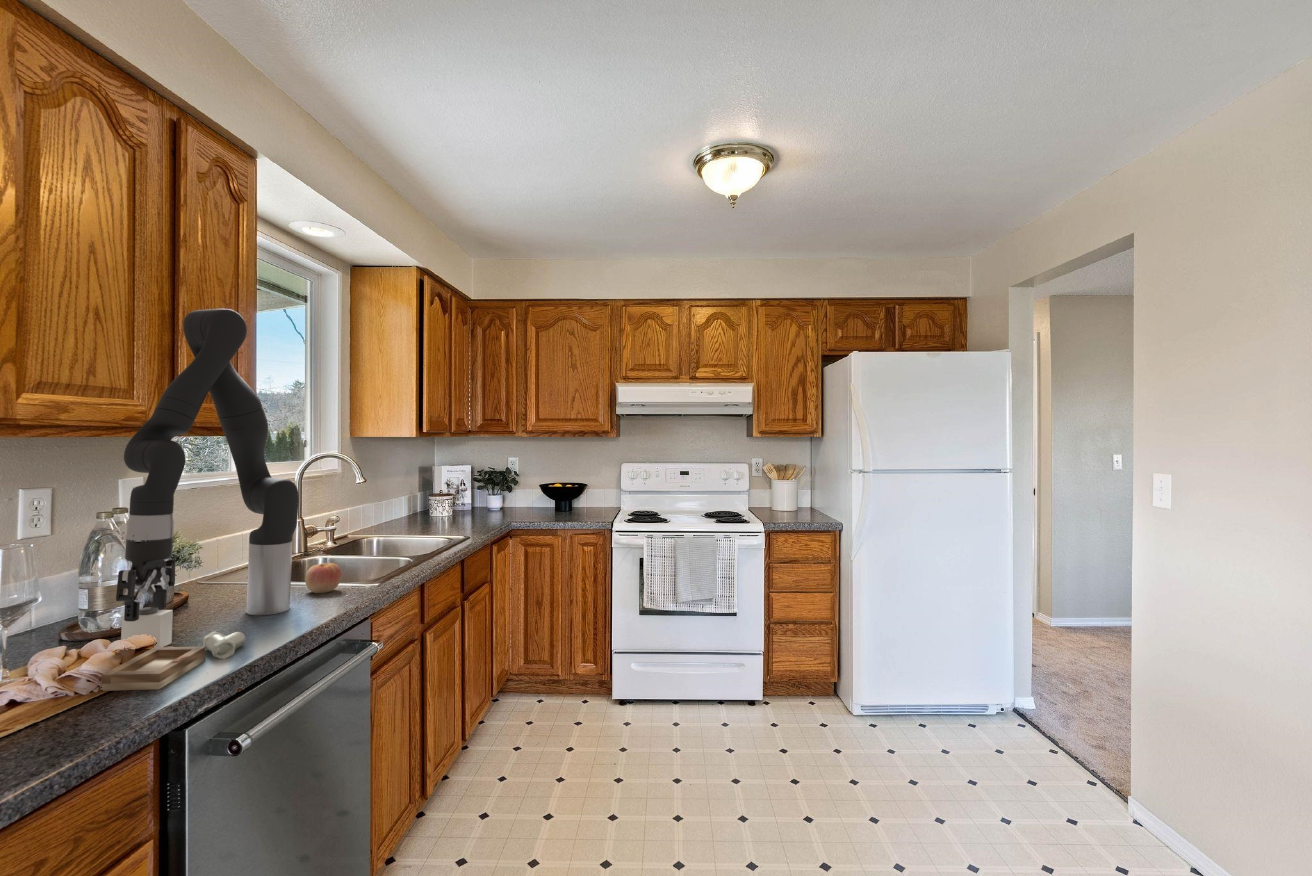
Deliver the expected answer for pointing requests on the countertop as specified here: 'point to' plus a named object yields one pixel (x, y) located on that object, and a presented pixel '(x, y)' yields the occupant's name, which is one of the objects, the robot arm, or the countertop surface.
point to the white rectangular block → (150, 625)
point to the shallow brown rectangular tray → (153, 668)
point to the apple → (323, 577)
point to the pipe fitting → (223, 643)
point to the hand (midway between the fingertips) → (145, 614)
